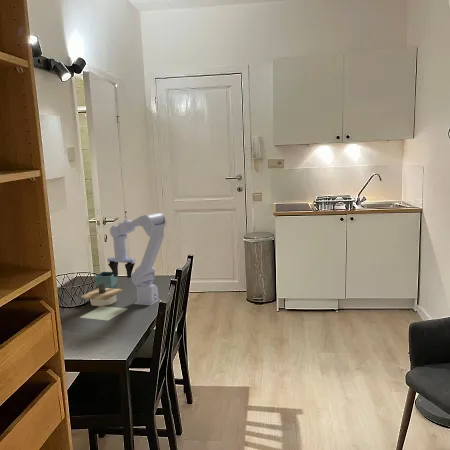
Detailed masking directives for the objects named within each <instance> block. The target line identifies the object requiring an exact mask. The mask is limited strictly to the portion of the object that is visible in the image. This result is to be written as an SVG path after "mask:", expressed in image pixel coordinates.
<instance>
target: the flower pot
mask: <svg viewBox="0 0 450 450" xmlns="http://www.w3.org/2000/svg"><path fill="white" fill-rule="evenodd" d="M94 280H95V283H96V286H97V288H99V287H98V285H99V284H105V288H113V289H116V287H117V283H118V276H117V277H114V274H113V272H112V271H101V272H100V273H98V274H96V275H94Z"/></svg>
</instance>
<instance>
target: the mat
mask: <svg viewBox="0 0 450 450" xmlns="http://www.w3.org/2000/svg"><path fill="white" fill-rule="evenodd" d="M127 310H128V308H124V307H115V306H114V307H112V306H106V305H105V306H97V308H95V309H93V310H91V311H89V312H86V313H85V314H83V315H81V316H80V317H79V318H81V319H88V320H89V319H90V320H98V321H99V320H101V321H110V320H112V319H114V318H115V317H117V316H119V315H120V314H121V313H124V312H125V311H127Z"/></svg>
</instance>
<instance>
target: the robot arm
mask: <svg viewBox="0 0 450 450" xmlns="http://www.w3.org/2000/svg"><path fill="white" fill-rule="evenodd" d="M166 224H167V220H166V217H165V215H164V214H163V213H162V212H160V211H159V212H155V213H150V214H143V215H140V216H139V217H137V218H134V219H133V220H131V219H127V218H126V219H123V222H118V224H114V225H112V226H111V227H110V229H109V233H110V236H111V237H112V238H113V239H112V240H113V248H114V249H113V251H114V256H110V257H107V259H106V260H107V262H108V264H107V265H108V267H109V268H110V270H111V272H113V274H114V277H117V278H118V276H119V263H123V264H124V267H125V270H126V277H127V279H130V278H131V282H132V283H133V284H134V286H135V287H136V288H135V289H136V299H137V301H135V302H133V304H134V305H142V306H152V305H154V304H156V303H157V302H159V301H160V299H159V288H158V286H157V284H153V283H154V282H153V281H154V280H155V277H156V276H155V275H156V269H155V267H154V264H155V262H156V258H157V257H158V253H159V251H160V248H161V245H162V242H163V240H164V234H165V231H164V230H165V227H166ZM137 227H142V228H143V230H144V232H145V233H146V235H147V236H148V237H149V240H148V242H147V246H146V249H145V251H144V255H143V257H142V260H141V262H140V265H138V266H137V267H136V268H135V270H134V272H133V269H134V266H135V264H136V258H131V257H128V253H127V235H128V234H130V233H132V232H134V231H135V230H136V228H137Z"/></svg>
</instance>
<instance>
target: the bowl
mask: <svg viewBox="0 0 450 450" xmlns="http://www.w3.org/2000/svg"><path fill="white" fill-rule="evenodd" d="M116 302H118V299H117V295H115V296H113V297H111V298H109V299H107V300H100V299H89V303H90V305H91V306H94V307H100V306H105V307H106V306H109V305H112V304H114V303H116Z"/></svg>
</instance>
